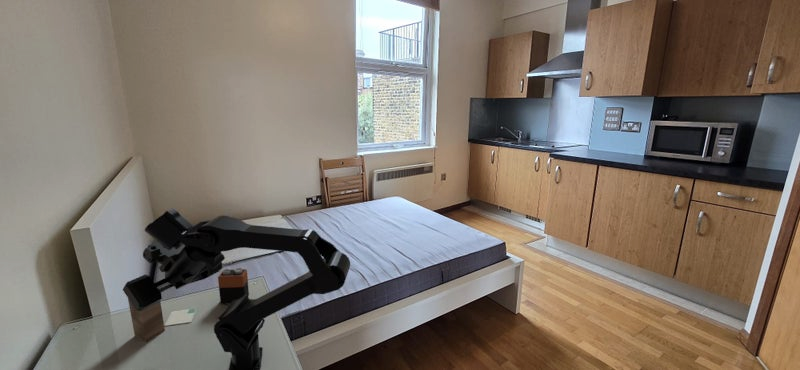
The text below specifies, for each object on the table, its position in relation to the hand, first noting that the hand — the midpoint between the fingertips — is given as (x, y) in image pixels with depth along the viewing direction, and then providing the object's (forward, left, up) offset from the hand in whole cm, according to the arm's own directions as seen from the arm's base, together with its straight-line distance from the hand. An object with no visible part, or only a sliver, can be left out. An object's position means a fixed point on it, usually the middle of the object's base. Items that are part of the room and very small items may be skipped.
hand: (164, 292), depth 76 cm
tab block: (+5, +6, -14) cm, 16 cm away
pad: (+10, 0, -14) cm, 17 cm away
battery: (+15, -12, -14) cm, 23 cm away
